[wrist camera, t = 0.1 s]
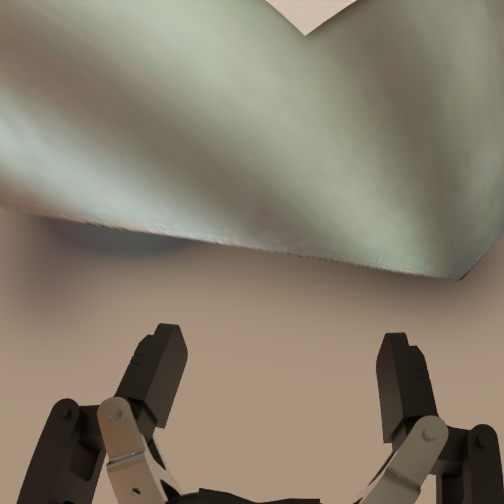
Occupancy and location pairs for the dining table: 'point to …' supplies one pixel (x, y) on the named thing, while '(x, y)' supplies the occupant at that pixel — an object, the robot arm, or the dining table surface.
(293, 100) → the dining table surface
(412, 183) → the dining table surface
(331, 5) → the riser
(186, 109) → the dining table surface
